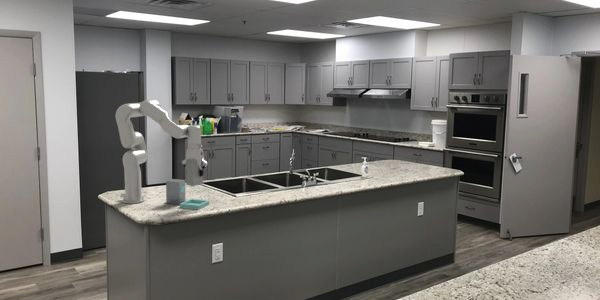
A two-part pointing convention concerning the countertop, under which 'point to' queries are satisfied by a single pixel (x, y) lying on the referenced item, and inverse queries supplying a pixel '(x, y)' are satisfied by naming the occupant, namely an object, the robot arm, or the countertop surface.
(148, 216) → the countertop surface
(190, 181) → the skincare box
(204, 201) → the tray
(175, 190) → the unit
